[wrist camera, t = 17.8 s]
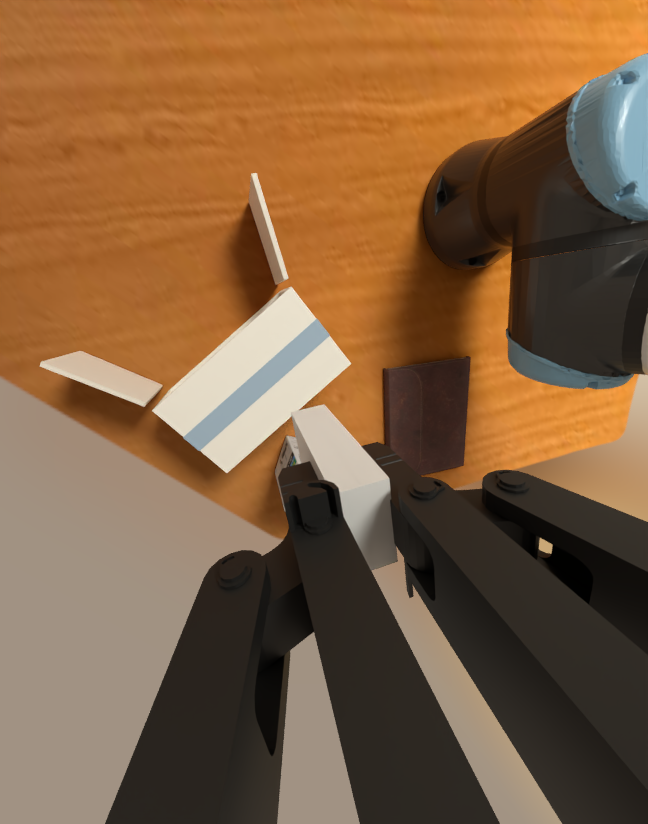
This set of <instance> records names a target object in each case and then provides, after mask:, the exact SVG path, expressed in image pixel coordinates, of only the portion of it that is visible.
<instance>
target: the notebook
mask: <svg viewBox="0 0 648 824" xmlns="http://www.w3.org/2000/svg"><path fill="white" fill-rule="evenodd" d="M469 372H470V357H468V356H466V357H464V358H457V359H450V360H443V361H436V362H429V363H422V364H415V365H408V366H401V367H394V368H387V369H385V368H384V402H385V440H386V446H389V447H390V448H391V449H392V450H393V451H394V452H395V453H396V455H398V456H399V457H400V458H402V460H404V461H405V462H406V463H407V464H408V465H409V466H410V467H411V468H412V469H413V470H414V471H416V472H417V473H418V474H419V475H420V476H421V475H425V474H429V473H434V472H438V471H443V470H447V469H451V468H456V467H460V466H464V451H465V435H466V419H467V404H468V388H469Z"/></svg>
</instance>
